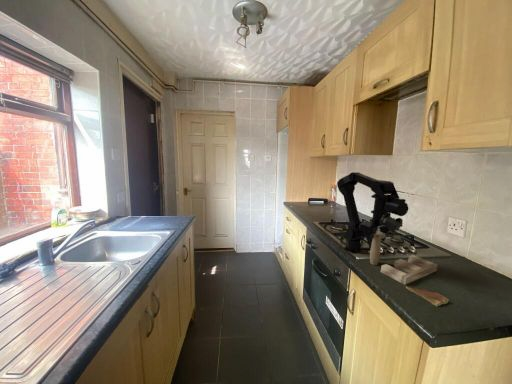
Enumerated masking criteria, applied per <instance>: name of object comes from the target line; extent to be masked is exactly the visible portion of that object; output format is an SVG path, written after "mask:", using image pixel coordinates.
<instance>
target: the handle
mask: <svg viewBox="0 0 512 384" xmlns="http://www.w3.org/2000/svg"><path fill="white" fill-rule="evenodd" d="M376 232H377V233H375V234H374V236H373V240H372V243H371V245H370V250H369V263H370V264H371V265H373V266H377V265H378V264H379V259H380V257H381V244H382V241H381V239H382V238H385V237H386V234H385V233H383V232H380V231H378V230H377V231H376ZM386 238H387V237H386ZM386 238H385V239H386Z"/></svg>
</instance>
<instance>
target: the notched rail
mask: <svg viewBox="0 0 512 384" xmlns="http://www.w3.org/2000/svg"><path fill="white" fill-rule="evenodd" d="M437 270H438V264H437V263H435V262H432V261H429V260H427V259H424V258H422V257H419V256H417V255H414V254H411V255H409V256H408V260H404V259H402V258H399V259H397V260H395V261H394V266H391V265H389V264H387V263H386V264H382V265H381V268H380V273H381V274H383V275H386V276H387V277H389V278H391V279H393V280H395V281H396V282H398V283H400V284H403V285H404V286H407V285H408V284H410V283H412V282H414V281H415V282H416V281H417V280H419V279H422V278H424V277H427V276H429V275H430V274H433V273H434V272H437Z"/></svg>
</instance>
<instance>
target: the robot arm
mask: <svg viewBox="0 0 512 384" xmlns="http://www.w3.org/2000/svg"><path fill="white" fill-rule="evenodd" d="M357 184H361V185H363V186H366V187H368V188H370V190H371V192H373V195H371V196H370V197H371V198H372V199H374V203H373V210H370V213H371V214H372V218H371V219H369V221H361V219H360V215H359V211H358V207H357V203H356V200H355V196H354V193H355V189H356V185H357ZM336 186H337V189H338V191H339V192H340V194H342V196H343V200H344V204H345V209H346V212H347V217H348V225H347V231H345V232H344V233H343V238H344V239H345V242H346V243H345V246H344V247H343V249H344V250H346V251H347V252H350V253H352V254H356V253H359V252H362V241H364V239H366V241H367V244H368V245H370V246H371V245H372V240H373V236H374V234H375V233H377V232H376V231H378V228H379V232H383V233H385V234H386V237H385V238H382V239H381V242H384V241H385V240H386V238H387V237H388V234H389V233H390V232H395V231H399V229H400V228H402V227H403V224H404V222H403V221H404V220H403V219H402V218H401V217H403V216H405V215H407V213H408V211H409V205H408V203H407V202H406V199H404V198H400V195H399V194H398V191H397V189H396V187H395V183H394V182H393V181H389V180H382V179H376V178H374V177H371V176H367V175H365V174H363V173H361V172H355V171H353V172H350V173H349V174H347V175H345V176H343V177H341V178H340V179H338V180H337V182H336ZM391 214H394V215H395V216H399V217H397V218H395V217H392V216H391Z"/></svg>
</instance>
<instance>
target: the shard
mask: <svg viewBox="0 0 512 384" xmlns="http://www.w3.org/2000/svg"><path fill="white" fill-rule="evenodd" d="M405 288H406V289H407V290H408V291H409V292H412V293H414V294H415V295H417V296H419V297H421V298H422V299H424V300H426V302H428V303H430V304H431V305H433V306H435V307H439V306H442V305H446V304H448V302H450V300H449V298H447V297H445V296H444V295H442V294H440V293H439V292H436V291H433V290H429V289H423V288H419V287H414V286H409V285H405Z"/></svg>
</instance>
